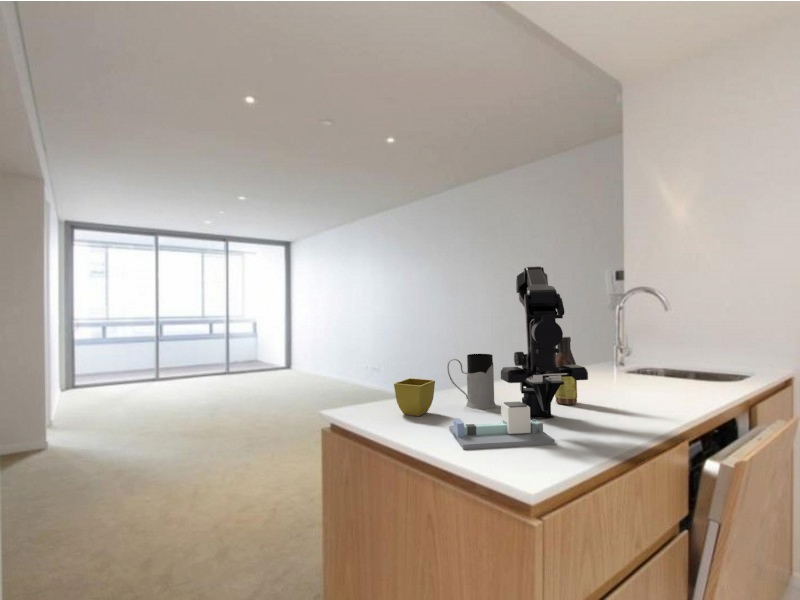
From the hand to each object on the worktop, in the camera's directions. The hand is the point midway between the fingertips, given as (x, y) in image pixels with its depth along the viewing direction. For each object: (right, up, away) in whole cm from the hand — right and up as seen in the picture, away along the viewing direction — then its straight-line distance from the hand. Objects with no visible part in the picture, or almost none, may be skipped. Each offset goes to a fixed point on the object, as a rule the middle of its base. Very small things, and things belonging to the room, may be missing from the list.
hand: (544, 411), depth 99 cm
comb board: (-11, -6, -1) cm, 12 cm away
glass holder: (-12, -6, +30) cm, 33 cm away
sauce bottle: (+16, -6, +30) cm, 34 cm away
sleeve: (-7, -4, -1) cm, 8 cm away
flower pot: (-29, -7, +21) cm, 36 cm away
